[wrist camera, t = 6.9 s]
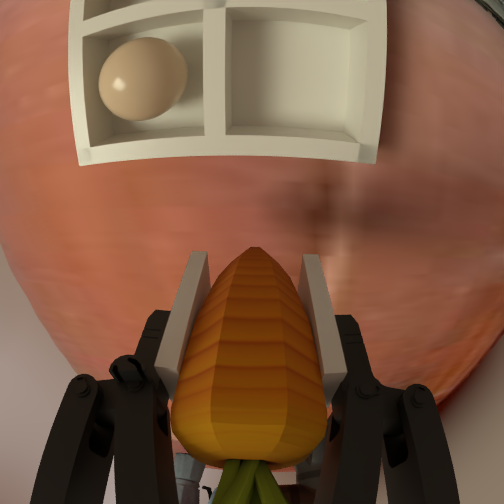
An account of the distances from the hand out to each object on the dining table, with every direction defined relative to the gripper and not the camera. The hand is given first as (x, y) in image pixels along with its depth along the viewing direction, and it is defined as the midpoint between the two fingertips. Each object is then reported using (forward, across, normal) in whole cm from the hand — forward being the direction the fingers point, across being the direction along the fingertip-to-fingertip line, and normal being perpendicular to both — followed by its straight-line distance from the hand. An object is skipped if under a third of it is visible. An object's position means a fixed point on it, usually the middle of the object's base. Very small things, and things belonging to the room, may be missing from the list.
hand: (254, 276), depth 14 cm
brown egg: (+5, +6, -10) cm, 12 cm away
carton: (+6, +2, -14) cm, 15 cm away
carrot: (+2, 0, 0) cm, 2 cm away
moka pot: (+7, +16, +72) cm, 74 cm away
